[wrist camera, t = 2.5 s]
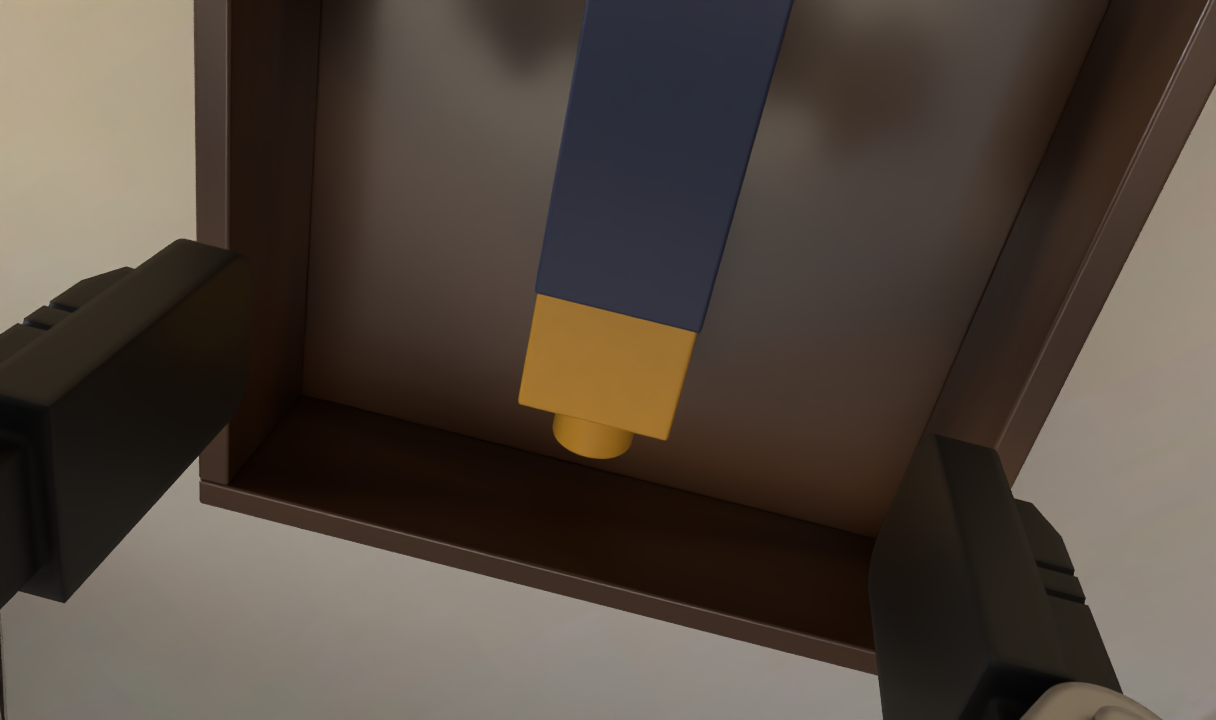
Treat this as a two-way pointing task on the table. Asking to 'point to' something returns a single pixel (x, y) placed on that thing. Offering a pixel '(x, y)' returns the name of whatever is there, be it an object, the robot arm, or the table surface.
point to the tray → (740, 302)
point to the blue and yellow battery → (643, 208)
